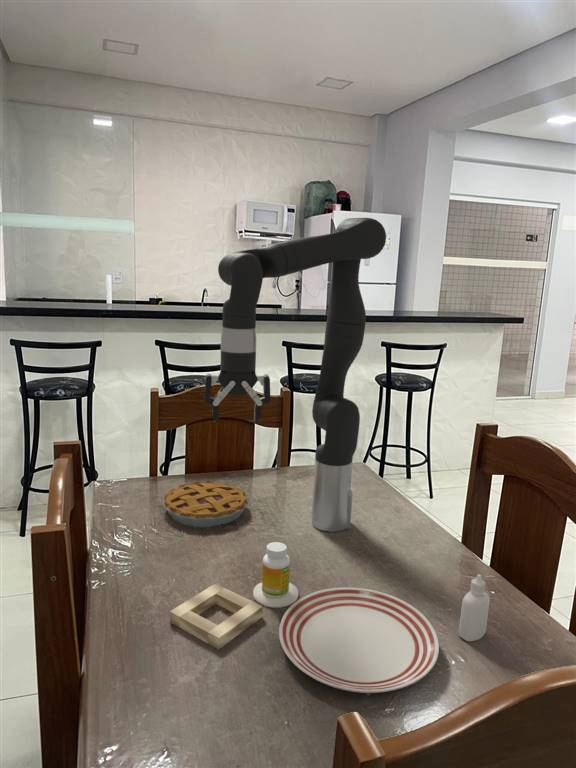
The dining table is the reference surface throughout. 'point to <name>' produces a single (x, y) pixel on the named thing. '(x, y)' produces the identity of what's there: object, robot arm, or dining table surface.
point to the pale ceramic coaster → (275, 602)
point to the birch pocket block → (207, 630)
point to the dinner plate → (359, 640)
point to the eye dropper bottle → (474, 611)
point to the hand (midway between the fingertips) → (236, 421)
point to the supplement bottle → (275, 571)
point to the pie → (205, 504)
